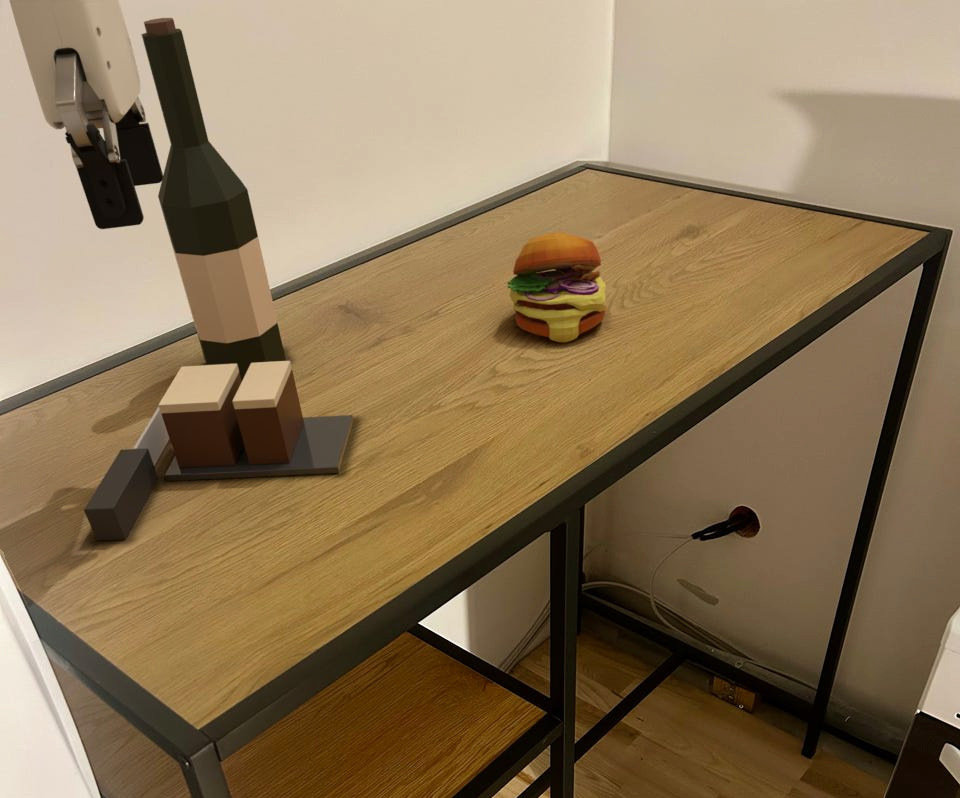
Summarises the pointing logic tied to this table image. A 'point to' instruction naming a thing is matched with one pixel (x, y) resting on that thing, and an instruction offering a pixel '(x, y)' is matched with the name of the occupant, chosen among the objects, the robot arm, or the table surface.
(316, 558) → the table surface
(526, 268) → the cheeseburger
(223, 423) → the cake
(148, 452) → the knife
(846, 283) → the table surface
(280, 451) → the cake slice
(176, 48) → the wine bottle
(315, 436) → the board
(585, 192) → the table surface
